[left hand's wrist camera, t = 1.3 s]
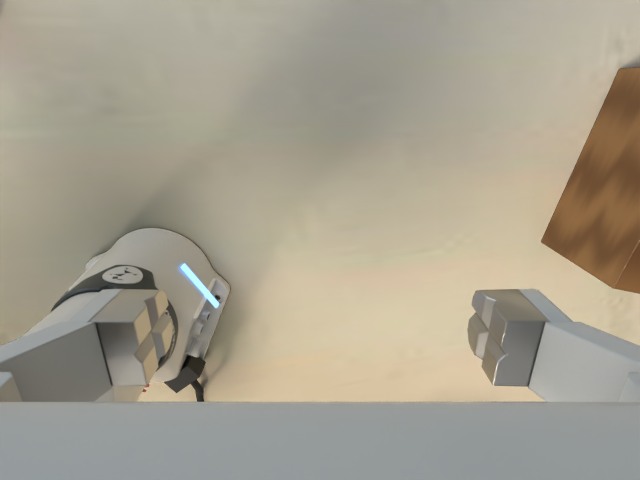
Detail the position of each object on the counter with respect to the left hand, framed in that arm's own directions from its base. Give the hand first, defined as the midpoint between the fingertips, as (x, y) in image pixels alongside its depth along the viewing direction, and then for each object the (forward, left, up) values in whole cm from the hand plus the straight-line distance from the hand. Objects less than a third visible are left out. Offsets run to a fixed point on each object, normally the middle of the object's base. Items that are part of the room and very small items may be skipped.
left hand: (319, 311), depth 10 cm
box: (+5, -35, -38) cm, 51 cm away
